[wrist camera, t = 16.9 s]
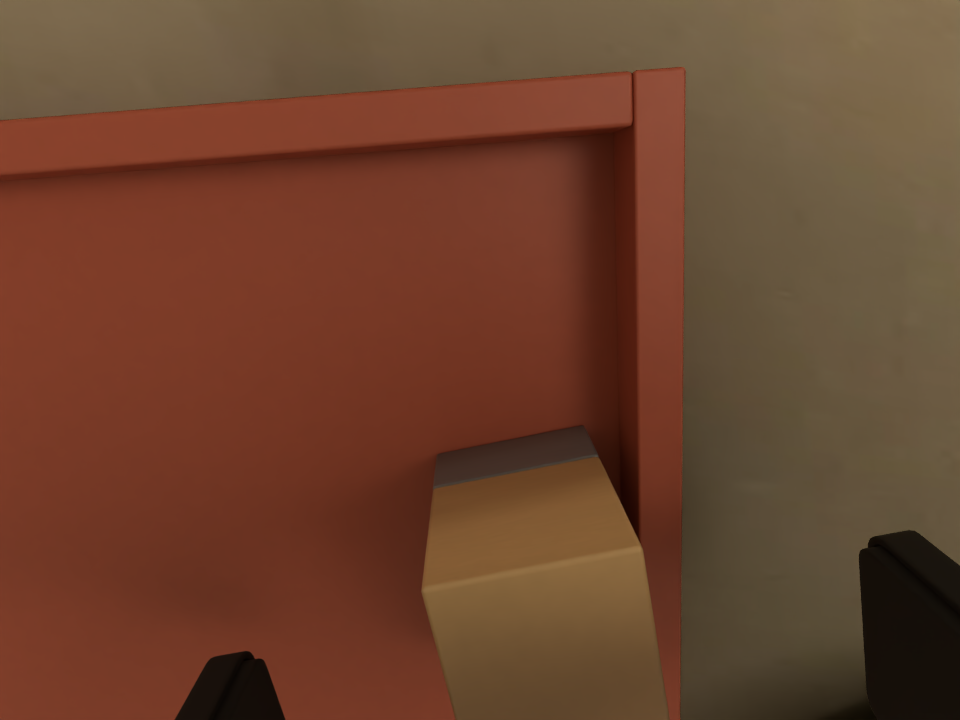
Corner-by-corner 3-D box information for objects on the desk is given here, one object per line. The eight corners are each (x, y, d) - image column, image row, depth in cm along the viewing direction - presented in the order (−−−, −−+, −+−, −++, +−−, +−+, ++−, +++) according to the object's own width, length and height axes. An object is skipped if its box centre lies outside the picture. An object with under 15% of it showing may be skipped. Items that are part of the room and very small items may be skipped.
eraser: (435, 453, 13) (419, 589, 9) (583, 423, 13) (643, 546, 8) (485, 659, 14) (493, 868, 10) (620, 634, 14) (689, 835, 10)
